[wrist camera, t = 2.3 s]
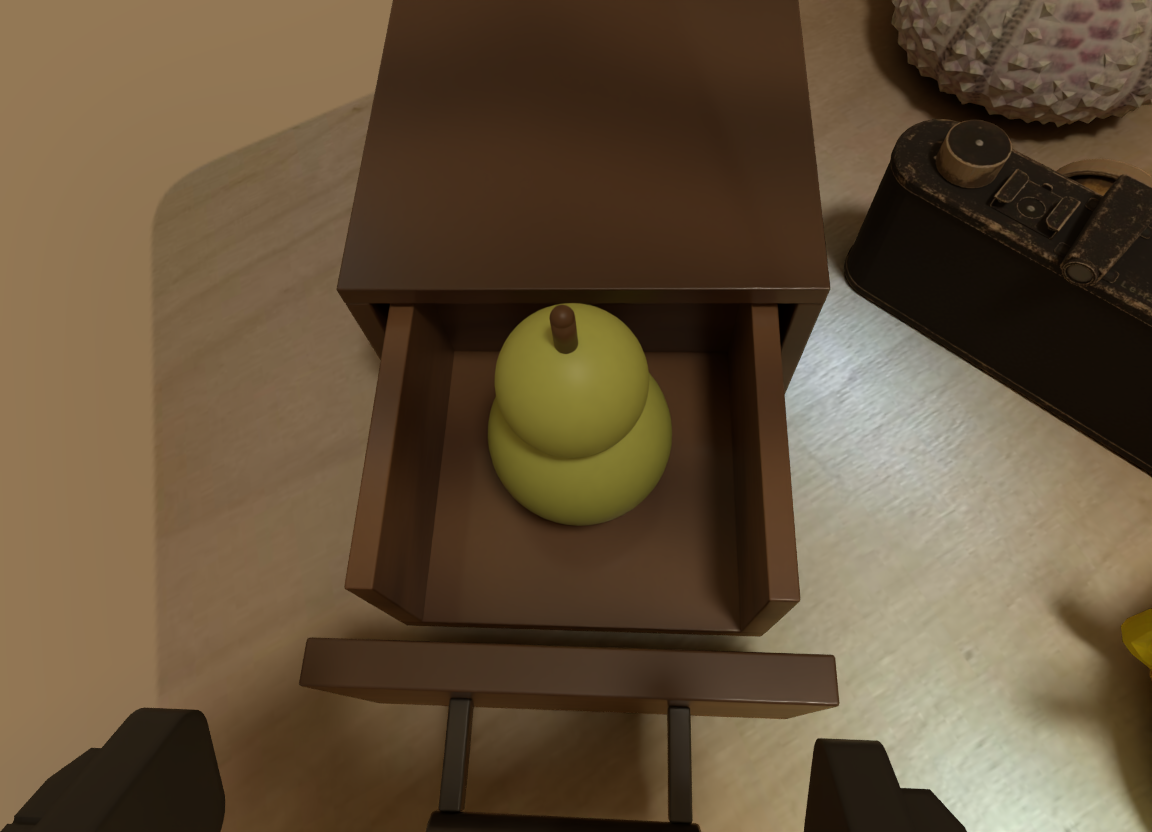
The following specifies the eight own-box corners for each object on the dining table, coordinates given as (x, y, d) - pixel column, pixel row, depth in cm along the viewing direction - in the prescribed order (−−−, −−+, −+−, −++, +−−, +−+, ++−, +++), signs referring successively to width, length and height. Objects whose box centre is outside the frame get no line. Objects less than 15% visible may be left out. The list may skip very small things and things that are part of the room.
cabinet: (778, 412, 30) (831, 289, 22) (409, 408, 31) (335, 290, 23) (757, 126, 36) (793, -51, 28) (448, 131, 37) (399, -39, 29)
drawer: (797, 870, 23) (859, 912, 17) (358, 847, 24) (263, 878, 18) (762, 348, 30) (797, 242, 24) (426, 347, 31) (375, 244, 25)
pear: (497, 547, 26) (421, 425, 17) (510, 394, 29) (450, 210, 19) (668, 551, 26) (691, 428, 16) (666, 395, 28) (686, 208, 19)
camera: (1298, 400, 29) (1526, 279, 21) (1220, 533, 27) (1441, 449, 20) (908, 184, 34) (985, 27, 27) (822, 283, 32) (878, 144, 25)
